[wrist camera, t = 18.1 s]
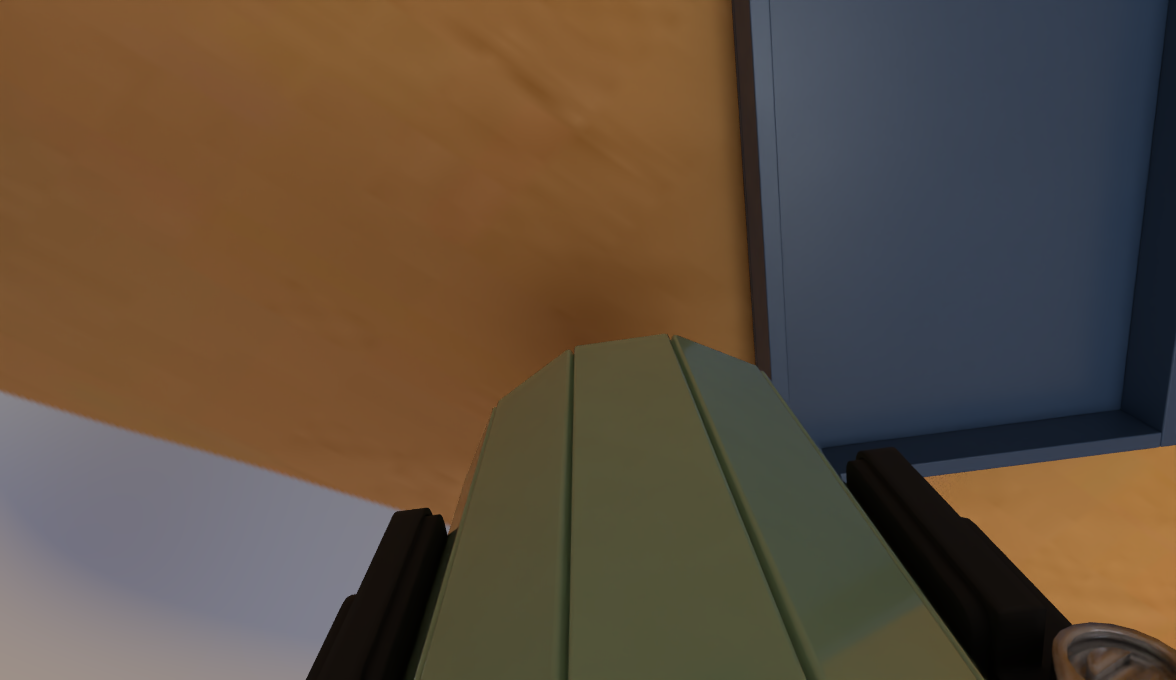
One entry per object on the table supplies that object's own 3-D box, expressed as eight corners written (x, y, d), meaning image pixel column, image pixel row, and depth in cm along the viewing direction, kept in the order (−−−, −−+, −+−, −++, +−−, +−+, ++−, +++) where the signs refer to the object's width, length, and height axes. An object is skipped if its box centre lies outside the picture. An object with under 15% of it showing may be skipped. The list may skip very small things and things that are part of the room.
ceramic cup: (503, 658, 14) (406, 1350, 6) (436, 364, 12) (166, 843, 4) (820, 618, 14) (1137, 1283, 6) (807, 312, 12) (1268, 715, 4)
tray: (762, 465, 27) (778, 496, 25) (723, -127, 20) (740, -156, 18) (1128, 417, 26) (1177, 445, 24) (1204, -203, 20) (1280, -241, 18)
